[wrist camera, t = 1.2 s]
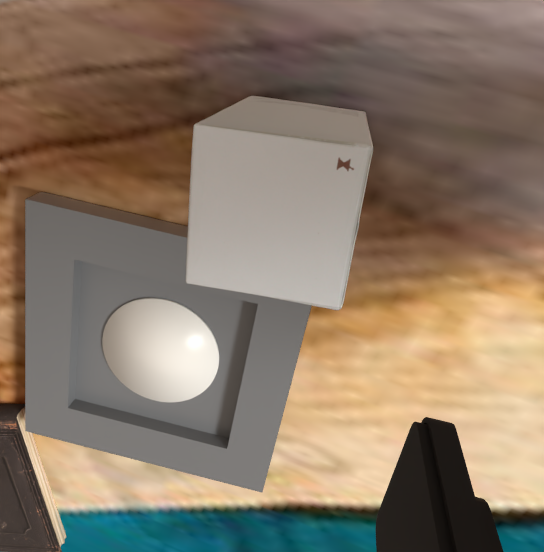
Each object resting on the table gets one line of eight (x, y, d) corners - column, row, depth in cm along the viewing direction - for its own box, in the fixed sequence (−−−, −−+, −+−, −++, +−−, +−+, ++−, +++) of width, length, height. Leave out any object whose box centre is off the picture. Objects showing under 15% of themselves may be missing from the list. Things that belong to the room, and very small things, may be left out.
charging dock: (322, 258, 35) (321, 269, 33) (265, 474, 43) (262, 492, 42) (41, 191, 36) (25, 199, 34) (38, 415, 44) (25, 430, 42)
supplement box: (247, 92, 32) (190, 115, 20) (368, 110, 31) (380, 144, 20) (235, 208, 35) (179, 285, 23) (345, 226, 34) (344, 314, 23)
